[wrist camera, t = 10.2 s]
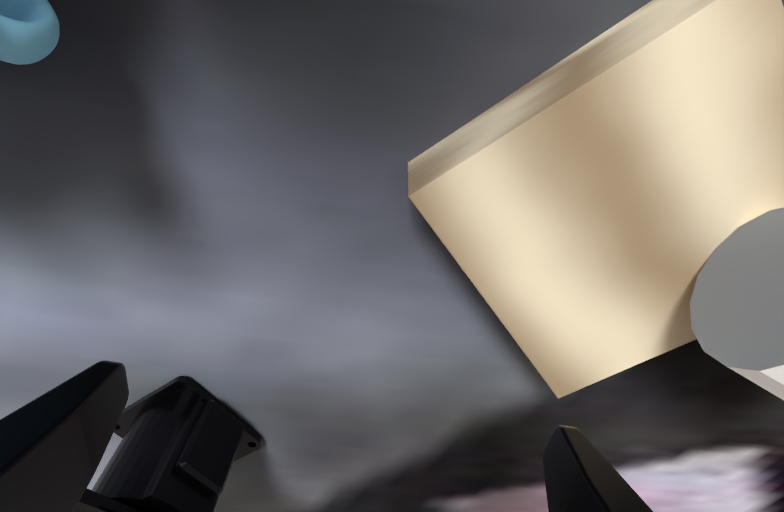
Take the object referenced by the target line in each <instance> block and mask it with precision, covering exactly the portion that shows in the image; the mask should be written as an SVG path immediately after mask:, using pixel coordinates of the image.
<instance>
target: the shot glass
mask: <svg viewBox="0 0 784 512" xmlns="http://www.w3.org/2000/svg"><path fill="white" fill-rule="evenodd" d="M690 313H691V329H692V331H693V333H694V334H695V336H696V338H697V340H698V342H699V344H700V345H701V347H702V349H703V351H704V352H705V353H707V354H708V355H710V356H711V357H713V358H714V359H716V360H717V361H719V362H720V363H722V364H723V365H725V366H726V367H728V368H730V369H732V370H733V371H735V372H737V373H738V374H740V375H742V376H743V377H745V378H747V379H748V380H750V381H752V382H754V383H755V384H757V385H759V386H760V387H762V388H764V389H765V390H767V391H769V392H770V393H772V394H774V395H775V396H777V397H779V398H781V399H782V400H784V207H783V208H778V209H774V210H769V211H767V212H766V213H764V214H762V215H760V216H758V217H756V218H754V219H753V220H751V221H749V222H747V223H745V224H743V225H741V226H740V227H738V228H737V229H736V230H735V231H734V232H733V233H732V234H731V235H730V236H729V237H727V238H726V239H725V240H724V241H723V242H722V243H721V244H720V245H719V246H718V247H717V248H716V249H715V250H714V251H713V253H712V254H711V256H710V257H709V259H708V260H707V262H706V264H705V265H704V267H703V268H702V270H701V271H700V273H699V274H698V277H697V280H696V283H695V287H694V290H693V294H692V297H691V300H690Z"/></svg>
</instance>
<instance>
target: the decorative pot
mask: <svg viewBox="0 0 784 512" xmlns="http://www.w3.org/2000/svg"><path fill="white" fill-rule="evenodd" d="M58 40H59V21H58V18H57V16H56V13H55V11H54V10H53V8H52V6H51V4H50V3H49V1H48V0H0V60H1V61H4V62H8V63H12V64H17V65H22V64H32V63H35V62H38V61H40V60H42V59H44V58H45V57H46V56H48V55H49V54H50V53H51V52H52V51H53V50H54V48H55V47H56V45H57V43H58Z"/></svg>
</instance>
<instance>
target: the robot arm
mask: <svg viewBox="0 0 784 512" xmlns="http://www.w3.org/2000/svg"><path fill="white" fill-rule="evenodd" d="M128 395H129V390H128V383H127V376H126V370H125V366H124V365H123V364H122V363H118V362H111V361H100V362H98V363H96V364H94V365H92V366H91V367H89V368H87V369H86V370H84V371H82V372H81V373H79V374H77V375H75V376H74V377H72V378H70V379H69V380H67V381H65V382H64V383H62V384H60V385H58V386H57V387H55V388H53V389H52V390H50V391H48V392H47V393H45V394H43V395H41V396H40V397H38V398H36V399H35V400H33V401H31V402H30V403H28V404H26V405H24V406H23V407H21V408H19V409H18V410H16V411H14V412H13V413H11V414H9V415H7V416H6V417H4V418H2V419H1V420H0V512H214V509H215V506H216V503H217V500H218V498H219V495H220V493H222V491H223V489H224V486H225V483H226V480H227V477H228V474H229V472H230V469H231V466H232V463H233V461H235V460H237V459H239V458H241V457H243V456H245V455H247V454H249V453H251V452H253V451H255V450H257V449H259V448H260V446H261V443H262V438H261V436H260V435H258V434H257V433H256V432H255V431H254V430H252V429H251V428H250V427H249V426H247V425H246V424H245V423H244V422H243V421H241V420H240V419H239V418H238V417H236V416H235V415H234V414H233V413H231V412H230V411H229V410H228V409H227V408H225V407H224V406H223V405H222V404H220V403H219V402H218V401H217V400H216V399H214V398H213V397H212V396H211V395H209V394H208V393H207V392H206V391H205V390H203V389H202V388H201V387H200V386H198V385H197V384H196V383H195V382H194V381H192V380H191V379H190V378H188V377H185V376H179V377H177V378H175V379H173V380H172V381H170V382H168V383H167V384H165V385H163V386H162V387H160V388H158V389H157V390H155V391H153V392H152V393H150V394H148V395H147V396H145V397H143V398H142V399H140V400H138V401H137V402H135V403H133V404H132V405H130V406H128V407H127V408H125V405H126V403H127V400H128ZM124 408H125V409H124ZM113 432H114V433H116V434H117V435H119V436H120V437H121V438H123V439H122V441H121V443H120V444H119V446H118V448H117V449H116V451H115V453H114V454H113V456H112V457H111V459H110V461H109V462H108V464H107V466H106V467H105V469H104V471H103V472H102V474H101V476H100V477H99V479H98V481H97V482H96V484H95V485H94V487H93V489H92V490H89V489H87V486H88V484H89V483H90V481H91V479H92V477H93V475H94V473H95V471H96V469H97V467H98V465H99V463H100V461H101V458H102V456H103V454H104V452H105V450H106V447H107V445H108V443H109V441H110V439H111V436H112V434H113ZM543 466H544V475H545V484H546V492H547V501H548V510H549V512H653V511H652V510H651V509H650V508H649V507H648V506H647V504H646V503H645V502H644V501H643V500H642V499H641V498H640V497H639V496H638V494H637V493H636V492H635V491H634V490H633V489H632V488H631V487H630V486H629V484H628V483H627V482H626V481H625V480H624V479H623V478H622V477H621V476H620V475H619V473H618V472H617V471H616V470H615V469H614V468H613V467H612V466H611V465H610V463H609V462H608V461H607V460H606V459H605V458H604V457H603V456H602V455H601V453H600V452H599V451H598V450H597V449H596V448H595V447H594V446H593V445H592V443H591V442H590V441H589V440H588V439H587V438H586V437H585V436H584V435H583V434H582V432H581V431H580V430H578V429H577V428H575V427H570V426H563V425H558V426H557V427H556V428H555V429H554V431H553V433H552V435H551V437H550V439H549V441H548V442H547V444H546V446H545V448H544V452H543Z"/></svg>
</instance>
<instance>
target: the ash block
mask: <svg viewBox="0 0 784 512" xmlns="http://www.w3.org/2000/svg"><path fill="white" fill-rule="evenodd" d="M408 197H409V198H410V199H411V201H412V202H413V203H414V205H415V206H416V207H417V209H418V210H419V211H420V213H421V214H422V215H423V217H424V218H425V219H426V221H427V222H428V223H429V225H430V226H431V228H432V229H433V230H434V232H435V233H436V234H437V236H438V237H439V238H440V240H441V241H442V242H443V244H444V245H445V246H446V248H447V249H448V250H449V252H450V253H451V254H452V256H453V257H454V259H455V260H456V261H457V263H458V264H459V265H460V267H461V268H462V269H463V271H464V272H465V273H466V275H467V276H468V277H469V279H470V280H471V281H472V283H473V284H474V286H475V287H476V288H477V290H478V291H479V292H480V294H481V295H482V296H483V298H484V299H485V300H486V302H487V303H488V304H489V306H490V307H491V308H492V310H493V311H494V312H495V314H496V315H497V317H498V318H499V319H500V321H501V322H502V323H503V325H504V326H505V327H506V329H507V330H508V331H509V333H510V334H511V335H512V337H513V338H514V339H515V341H516V342H517V343H518V345H519V346H520V348H521V349H522V350H523V352H524V353H525V354H526V356H527V357H528V358H529V360H530V361H531V362H532V364H533V365H534V366H535V368H536V369H537V370H538V372H539V373H540V374H541V376H542V377H543V379H544V380H545V381H546V383H547V384H548V385H549V387H550V388H551V389H552V391H553V392H554V393H555V395H556V396H557V397H558V398H561V397H563V396H565V395H568V394H570V393H572V392H574V391H577V390H579V389H581V388H584V387H586V386H588V385H591V384H593V383H595V382H598V381H600V380H602V379H605V378H607V377H609V376H612V375H614V374H616V373H619V372H621V371H623V370H626V369H628V368H630V367H633V366H635V365H637V364H640V363H642V362H644V361H647V360H649V359H651V358H654V357H656V356H658V355H660V354H663V353H665V352H667V351H670V350H672V349H674V348H677V347H679V346H681V345H684V344H686V343H688V342H691V341H693V340H695V339H697V338H696V336H695V334H694V333H693V331H692V329H691V313H690V300H691V297H692V294H693V290H694V287H695V283H696V280H697V277H698V274H699V273H700V271H701V270H702V268H703V267H704V265H705V264H706V262H707V260H708V259H709V257H710V256H711V254H712V253H713V251H714V250H715V249H716V248H717V247H718V246H719V245H720V244H721V243H722V242H723V241H724V240H725V239H726V238H727V237H729V236H730V235H731V234H732V233H733V232H734V231H735V230H736V229H737V228H738V227H740V226H741V225H743V224H745V223H747V222H749V221H751V220H753V219H754V218H756V217H758V216H760V215H762V214H764V213H766V212H767V211H769V210H774V209H778V208H783V207H784V7H783V4H782V0H652V1H651V2H649V3H648V4H646V5H645V6H643V7H642V8H640V9H639V10H637V11H636V12H634V13H633V14H631V15H630V16H628V17H627V18H625V19H624V20H622V21H621V22H619V23H618V24H616V25H615V26H613V27H611V28H610V29H608V30H607V31H605V32H604V33H602V34H601V35H599V36H598V37H596V38H595V39H593V40H592V41H590V42H589V43H587V44H586V45H584V46H583V47H581V48H580V49H578V50H577V51H575V52H574V53H572V54H571V55H569V56H568V57H566V58H565V59H563V60H562V61H560V62H559V63H557V64H556V65H554V66H553V67H551V68H550V69H548V70H547V71H545V72H544V73H542V74H541V75H539V76H538V77H536V78H535V79H533V80H532V81H530V82H529V83H527V84H526V85H524V86H523V87H521V88H520V89H518V90H517V91H515V92H514V93H512V94H511V95H509V96H508V97H506V98H505V99H503V100H502V101H500V102H499V103H497V104H496V105H494V106H493V107H491V108H490V109H488V110H487V111H485V112H483V113H482V114H480V115H479V116H477V117H476V118H474V119H473V120H471V121H470V122H468V123H467V124H465V125H464V126H462V127H461V128H459V129H458V130H456V131H455V132H453V133H452V134H450V135H449V136H447V137H446V138H444V139H443V140H441V141H440V142H438V143H437V144H435V145H434V146H432V147H431V148H429V149H428V150H426V151H425V152H423V153H422V154H420V155H419V156H417V157H416V158H414V159H413V160H411V161H410V162H408Z"/></svg>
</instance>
